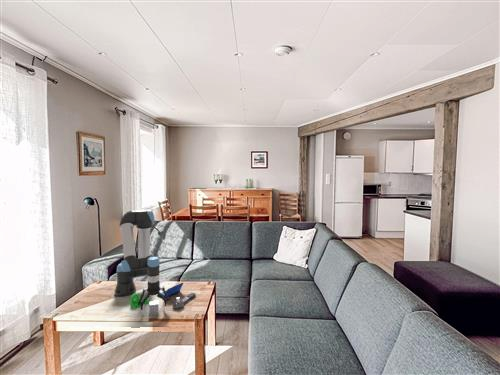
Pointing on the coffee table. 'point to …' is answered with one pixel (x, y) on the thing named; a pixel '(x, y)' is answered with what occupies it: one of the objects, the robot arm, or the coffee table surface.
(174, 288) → the handheld game console
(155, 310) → the grey metal block
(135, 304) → the mechanical part
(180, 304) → the ladle
